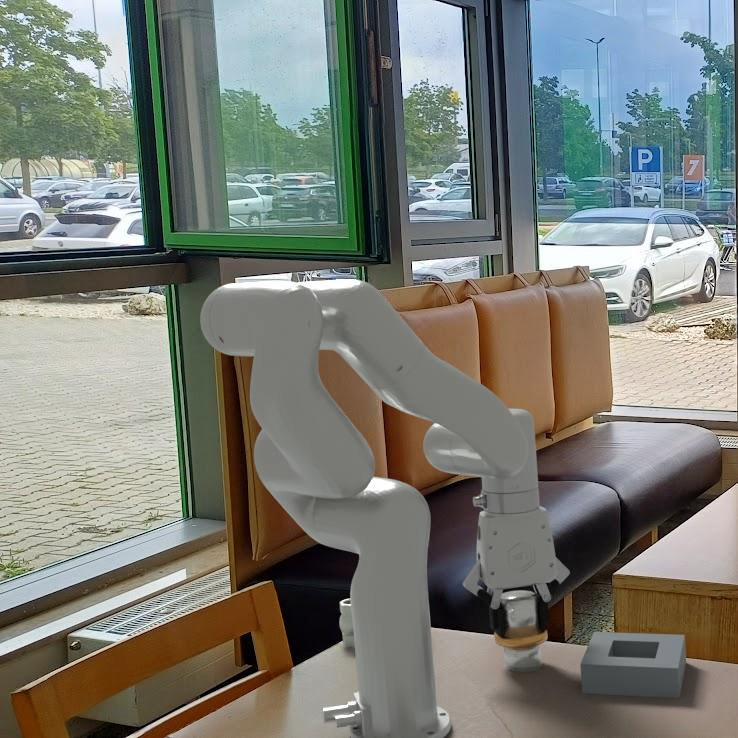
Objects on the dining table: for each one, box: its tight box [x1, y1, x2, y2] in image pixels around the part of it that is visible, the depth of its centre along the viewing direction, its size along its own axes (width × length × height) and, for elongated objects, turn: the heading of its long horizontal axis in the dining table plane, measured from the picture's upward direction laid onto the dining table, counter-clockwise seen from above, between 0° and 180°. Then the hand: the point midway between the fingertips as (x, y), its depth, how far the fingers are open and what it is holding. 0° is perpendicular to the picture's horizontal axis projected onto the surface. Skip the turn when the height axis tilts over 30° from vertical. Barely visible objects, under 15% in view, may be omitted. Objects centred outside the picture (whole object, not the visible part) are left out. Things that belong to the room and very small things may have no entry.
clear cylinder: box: [493, 589, 549, 673], centre depth 156 cm, size 7×7×10 cm
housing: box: [580, 631, 687, 699], centre depth 149 cm, size 12×12×5 cm
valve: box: [338, 598, 355, 648], centre depth 173 cm, size 7×7×12 cm
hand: (520, 629), depth 156 cm, fingers closed on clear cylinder, 5 cm apart
